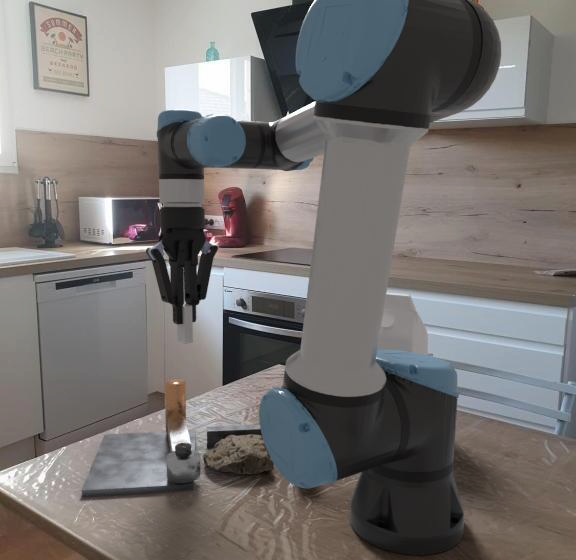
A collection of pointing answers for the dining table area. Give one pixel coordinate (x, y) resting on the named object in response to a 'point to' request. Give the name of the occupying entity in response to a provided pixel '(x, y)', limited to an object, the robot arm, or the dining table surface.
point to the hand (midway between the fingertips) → (185, 341)
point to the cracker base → (146, 461)
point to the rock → (239, 455)
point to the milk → (402, 326)
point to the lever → (179, 434)
